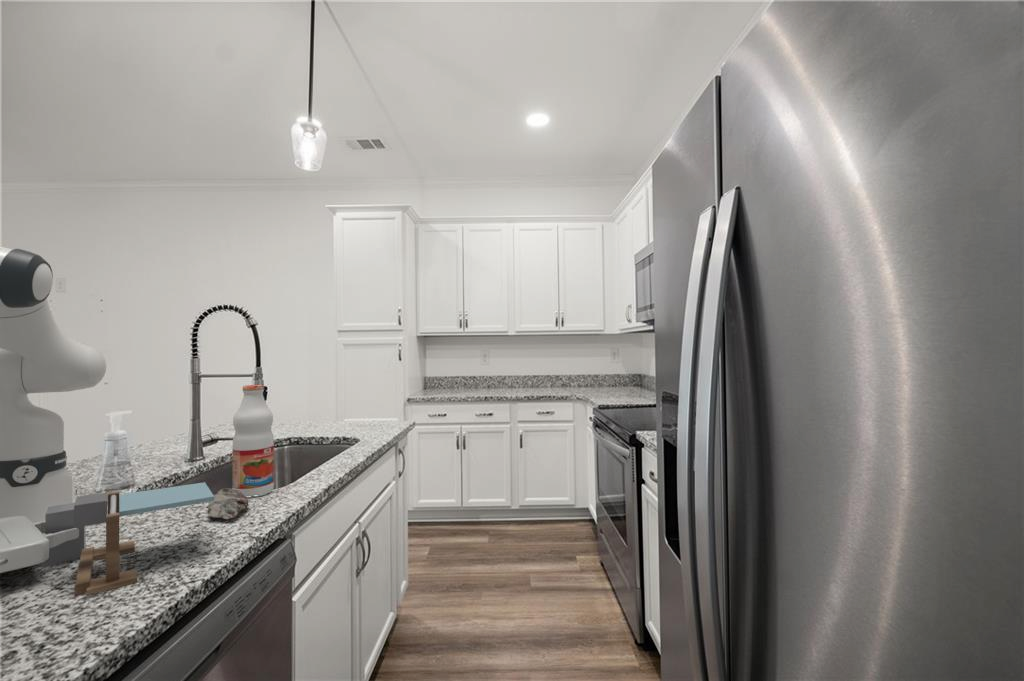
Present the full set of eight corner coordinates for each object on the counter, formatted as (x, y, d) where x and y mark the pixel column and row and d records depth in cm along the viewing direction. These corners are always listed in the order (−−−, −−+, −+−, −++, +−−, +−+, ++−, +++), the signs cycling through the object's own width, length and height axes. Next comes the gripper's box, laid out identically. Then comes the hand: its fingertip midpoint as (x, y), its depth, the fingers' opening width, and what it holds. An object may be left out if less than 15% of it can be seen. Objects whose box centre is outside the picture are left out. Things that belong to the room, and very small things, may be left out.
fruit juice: (256, 486, 126) (256, 383, 127) (282, 489, 123) (281, 384, 123) (223, 496, 118) (223, 386, 118) (249, 500, 114) (249, 387, 115)
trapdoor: (77, 512, 82) (78, 491, 82) (204, 492, 94) (204, 474, 94) (71, 534, 72) (72, 511, 72) (214, 509, 84) (214, 489, 84)
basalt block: (48, 556, 84) (48, 506, 84) (85, 548, 87) (85, 500, 87) (45, 566, 80) (45, 514, 80) (84, 557, 84) (84, 507, 84)
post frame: (82, 555, 84) (82, 495, 84) (134, 544, 89) (134, 487, 89) (74, 598, 70) (75, 525, 70) (137, 582, 74) (137, 513, 74)
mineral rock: (239, 523, 100) (239, 502, 100) (196, 527, 98) (197, 506, 98) (257, 501, 114) (257, 483, 114) (220, 504, 112) (220, 486, 112)
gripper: (-37, 552, 67) (88, 522, 79) (-52, 522, 79) (59, 500, 90) (-38, 595, 67) (88, 559, 78) (-52, 559, 79) (59, 532, 90)
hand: (73, 527), depth 85 cm, fingers closed on basalt block, 6 cm apart
